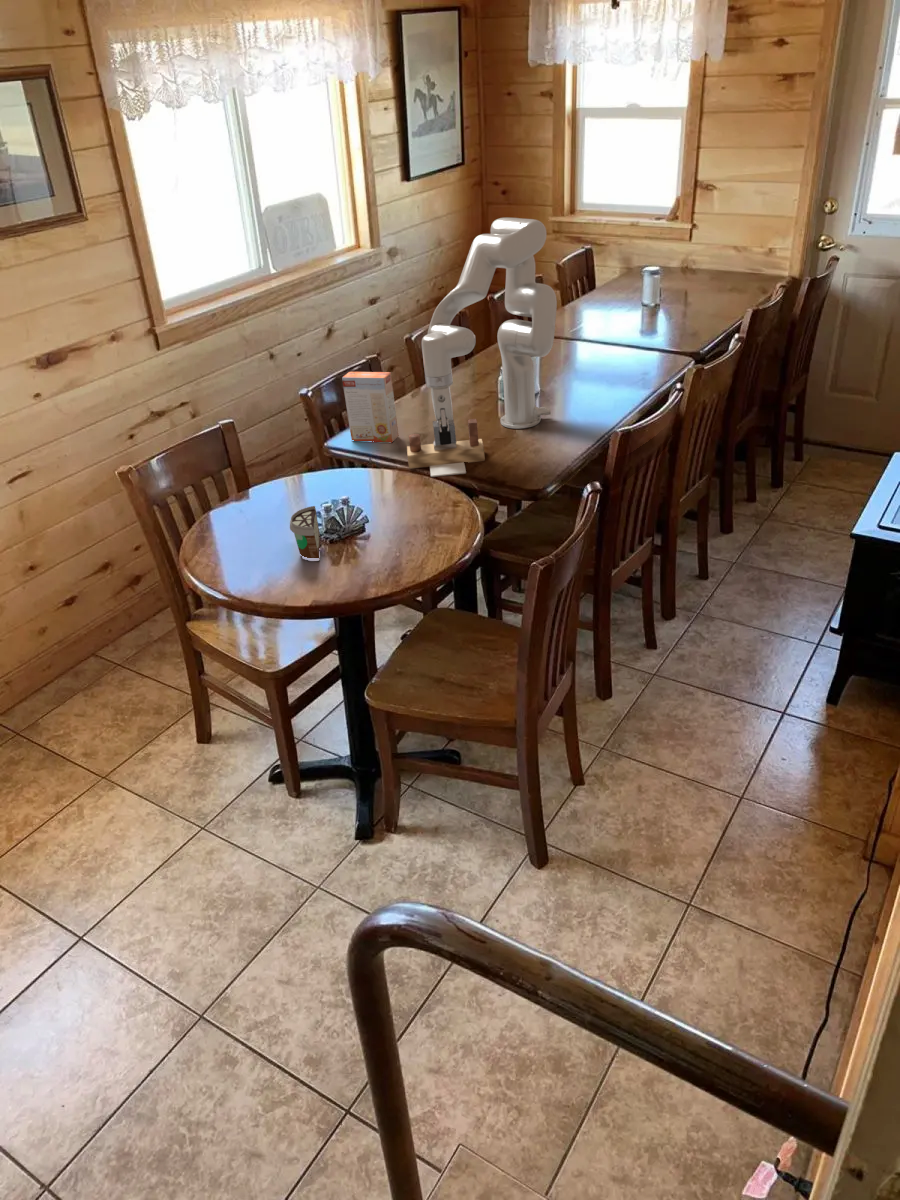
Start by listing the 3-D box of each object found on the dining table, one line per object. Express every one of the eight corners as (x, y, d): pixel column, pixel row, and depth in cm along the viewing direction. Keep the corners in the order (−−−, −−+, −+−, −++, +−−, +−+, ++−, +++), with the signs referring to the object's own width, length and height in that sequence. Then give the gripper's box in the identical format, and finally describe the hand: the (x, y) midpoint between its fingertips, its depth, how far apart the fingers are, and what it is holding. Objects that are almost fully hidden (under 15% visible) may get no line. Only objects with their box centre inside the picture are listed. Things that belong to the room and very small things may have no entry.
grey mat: (464, 463, 259) (464, 462, 259) (466, 473, 253) (466, 472, 253) (429, 467, 259) (429, 465, 259) (430, 477, 253) (430, 475, 253)
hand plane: (482, 451, 265) (480, 415, 259) (484, 460, 259) (482, 424, 254) (408, 459, 265) (404, 423, 259) (409, 468, 259) (404, 432, 253)
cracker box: (399, 436, 281) (391, 371, 270) (392, 444, 276) (384, 377, 265) (358, 434, 285) (349, 370, 274) (351, 442, 281) (341, 376, 270)
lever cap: (455, 436, 261) (453, 415, 258) (456, 442, 258) (454, 421, 254) (434, 439, 261) (432, 418, 258) (435, 445, 257) (433, 423, 254)
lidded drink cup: (297, 543, 225) (290, 507, 220) (321, 540, 226) (315, 504, 220) (294, 567, 215) (286, 530, 210) (319, 564, 215) (312, 527, 210)
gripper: (454, 387, 242) (460, 450, 252) (450, 368, 257) (456, 428, 266) (426, 390, 242) (433, 453, 252) (424, 371, 257) (431, 431, 266)
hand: (445, 439), depth 259 cm, fingers closed on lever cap, 4 cm apart
